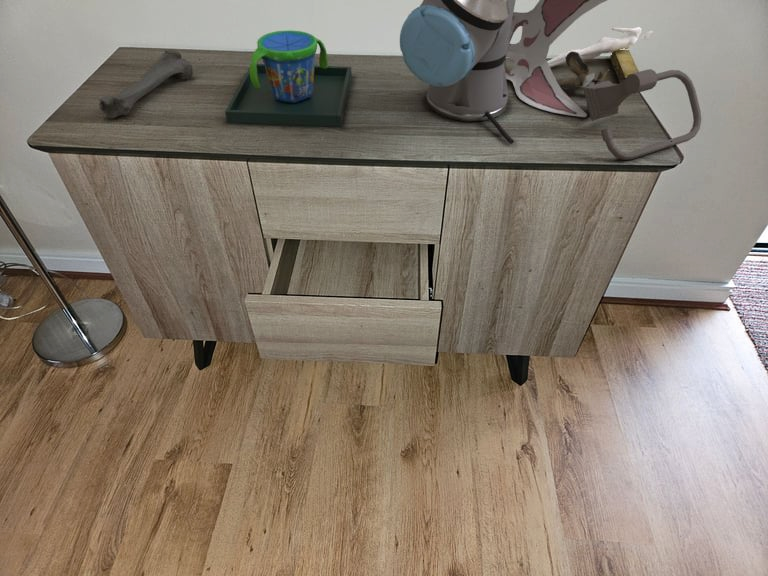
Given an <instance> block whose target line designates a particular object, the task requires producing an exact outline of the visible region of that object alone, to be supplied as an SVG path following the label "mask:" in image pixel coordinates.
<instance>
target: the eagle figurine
mask: <svg viewBox="0 0 768 576" xmlns="http://www.w3.org/2000/svg"><path fill="white" fill-rule="evenodd" d="M565 58H566V65H567V66H568V68H569V69H570V72H571V73H573V74H574V75H576V76H577V77H571V78H562V79H560V80H558V81H557V83H558V84H559V86H560V87H561V89H567V90H575V89H576V88H583V87H586V86H590V84H591V83H594V84H598V83H602V82H603V80H604V79H605V77H606V76H607V75H608V73H609V71H610V68H608V69H606V70H605V72H602V71H600V72H599V73H598V75H597V78H595V72H591V73H590V74H589V72H590V69H589V65H588V64H587V62H585V61H584V60H582V59H581V58H580V56H579V53H578V52H577V53H576V52H570V53H569V54H567V56H566V57H565ZM594 84H593V85H594Z"/></svg>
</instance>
